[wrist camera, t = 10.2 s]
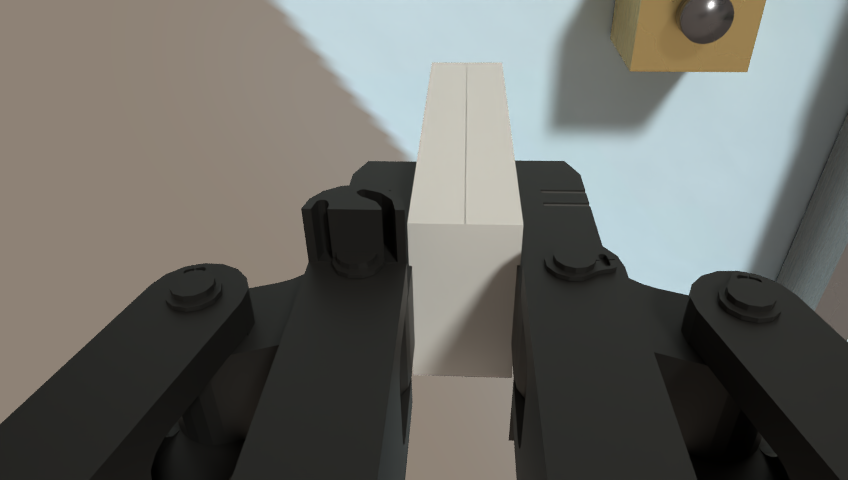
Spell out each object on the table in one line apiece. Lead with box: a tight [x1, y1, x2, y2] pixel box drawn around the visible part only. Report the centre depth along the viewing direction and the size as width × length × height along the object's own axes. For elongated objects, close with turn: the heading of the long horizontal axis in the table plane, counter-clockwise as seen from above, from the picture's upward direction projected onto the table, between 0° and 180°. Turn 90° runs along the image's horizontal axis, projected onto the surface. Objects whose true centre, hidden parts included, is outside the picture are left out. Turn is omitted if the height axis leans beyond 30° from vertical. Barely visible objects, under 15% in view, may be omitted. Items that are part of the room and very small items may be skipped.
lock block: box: [610, 0, 766, 72], centre depth 23 cm, size 4×4×5 cm
